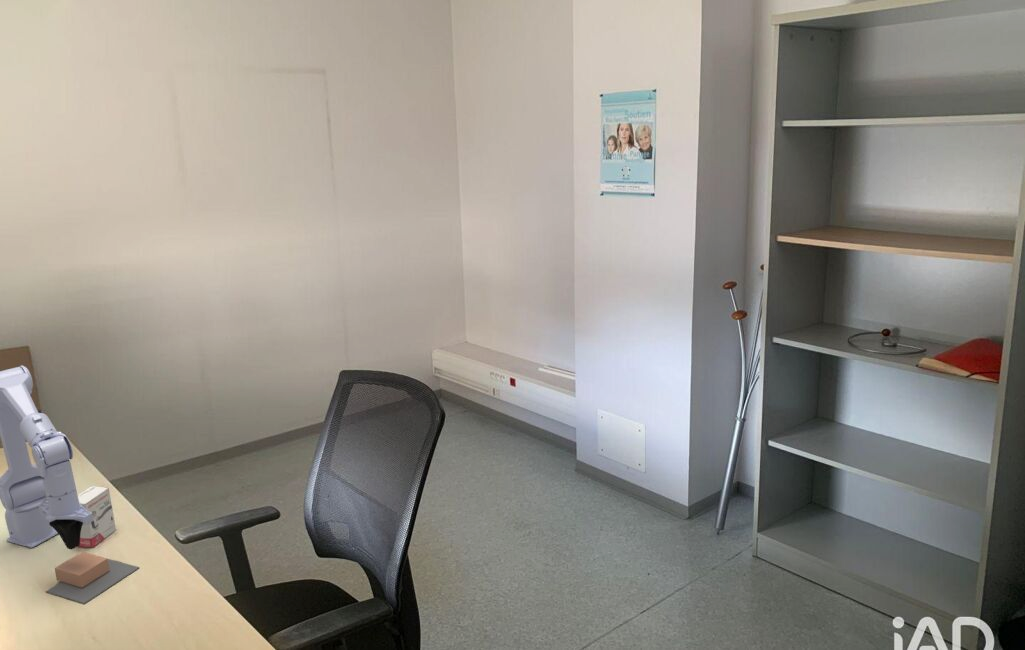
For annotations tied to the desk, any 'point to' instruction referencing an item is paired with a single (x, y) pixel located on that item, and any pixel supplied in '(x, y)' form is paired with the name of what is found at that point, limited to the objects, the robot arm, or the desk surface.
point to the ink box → (96, 515)
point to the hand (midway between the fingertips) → (73, 546)
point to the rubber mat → (94, 583)
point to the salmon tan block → (82, 569)
